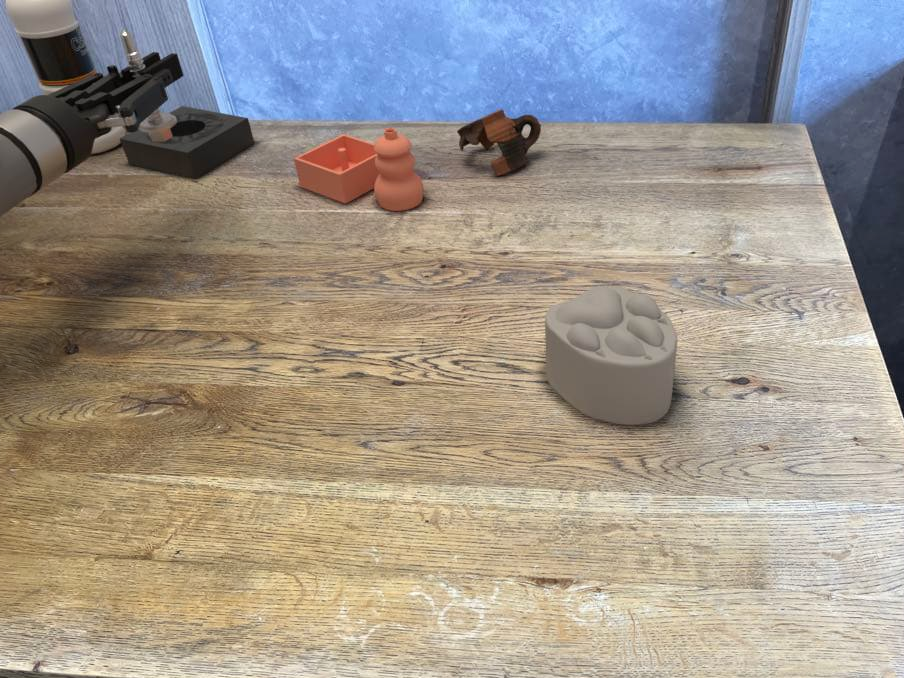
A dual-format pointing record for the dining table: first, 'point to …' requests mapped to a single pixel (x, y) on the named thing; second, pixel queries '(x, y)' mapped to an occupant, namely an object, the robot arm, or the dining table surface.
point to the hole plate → (190, 143)
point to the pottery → (363, 170)
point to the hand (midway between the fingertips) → (168, 64)
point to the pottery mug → (502, 138)
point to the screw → (157, 121)
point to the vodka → (57, 50)
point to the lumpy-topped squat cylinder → (612, 355)
